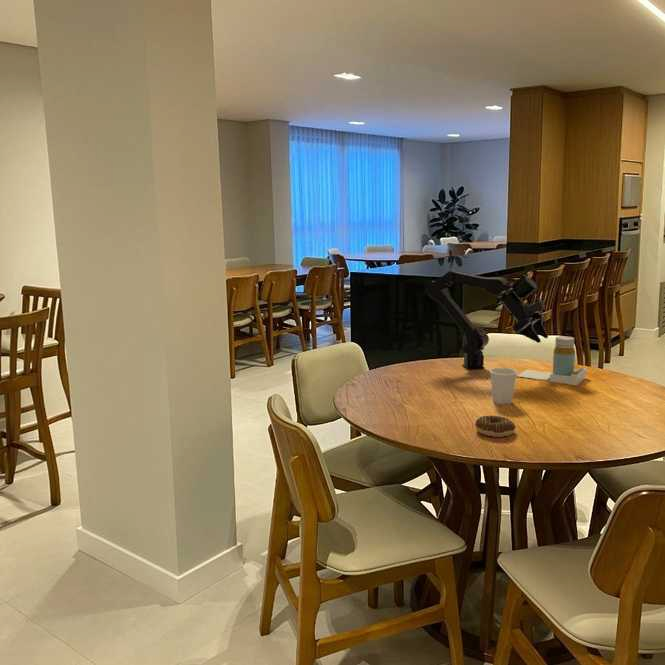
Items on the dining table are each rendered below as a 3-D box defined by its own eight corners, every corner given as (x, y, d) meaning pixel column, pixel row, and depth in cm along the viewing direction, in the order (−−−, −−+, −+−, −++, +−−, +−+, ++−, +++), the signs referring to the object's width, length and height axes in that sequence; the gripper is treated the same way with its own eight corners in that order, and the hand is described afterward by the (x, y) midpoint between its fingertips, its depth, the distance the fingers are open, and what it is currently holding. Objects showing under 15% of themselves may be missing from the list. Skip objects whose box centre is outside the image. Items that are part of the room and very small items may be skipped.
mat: (516, 376, 237) (516, 375, 237) (526, 370, 246) (526, 369, 246) (546, 381, 231) (546, 380, 231) (556, 374, 240) (556, 373, 240)
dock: (548, 381, 230) (549, 371, 229) (559, 374, 239) (559, 364, 239) (576, 385, 225) (576, 374, 224) (585, 378, 234) (586, 367, 233)
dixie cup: (519, 405, 203) (520, 374, 201) (491, 405, 203) (492, 374, 201) (512, 397, 211) (513, 367, 209) (486, 398, 211) (487, 367, 209)
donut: (467, 433, 179) (467, 419, 178) (488, 424, 186) (488, 410, 186) (501, 442, 172) (502, 427, 171) (522, 432, 179) (522, 418, 178)
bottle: (575, 378, 234) (577, 337, 231) (570, 382, 228) (573, 340, 226) (555, 376, 238) (557, 335, 235) (550, 380, 232) (552, 338, 229)
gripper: (524, 295, 228) (554, 330, 224) (539, 289, 243) (567, 322, 239) (500, 315, 233) (529, 349, 230) (517, 308, 249) (544, 340, 245)
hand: (543, 339), depth 236 cm, fingers open, 9 cm apart
